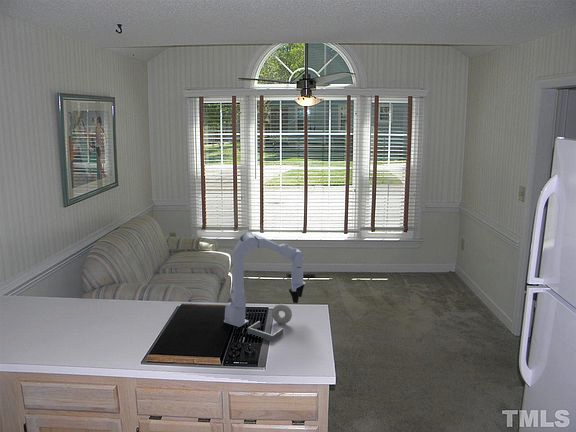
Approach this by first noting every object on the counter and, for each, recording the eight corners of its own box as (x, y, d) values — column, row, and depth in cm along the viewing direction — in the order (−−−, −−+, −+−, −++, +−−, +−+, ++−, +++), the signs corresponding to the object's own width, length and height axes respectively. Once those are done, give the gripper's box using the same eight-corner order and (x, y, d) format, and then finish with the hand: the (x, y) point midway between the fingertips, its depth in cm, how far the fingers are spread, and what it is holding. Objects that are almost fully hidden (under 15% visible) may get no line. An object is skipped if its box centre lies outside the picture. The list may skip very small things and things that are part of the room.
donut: (292, 323, 248) (293, 304, 245) (290, 326, 244) (291, 307, 242) (272, 320, 250) (273, 301, 247) (270, 323, 246) (271, 304, 244)
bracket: (247, 333, 235) (247, 327, 234) (258, 326, 242) (258, 320, 242) (272, 342, 228) (272, 336, 227) (283, 334, 236) (283, 328, 235)
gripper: (301, 279, 240) (301, 306, 244) (308, 269, 254) (308, 294, 257) (287, 278, 242) (287, 304, 246) (295, 268, 256) (295, 293, 259)
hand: (297, 299), depth 252 cm, fingers open, 7 cm apart
